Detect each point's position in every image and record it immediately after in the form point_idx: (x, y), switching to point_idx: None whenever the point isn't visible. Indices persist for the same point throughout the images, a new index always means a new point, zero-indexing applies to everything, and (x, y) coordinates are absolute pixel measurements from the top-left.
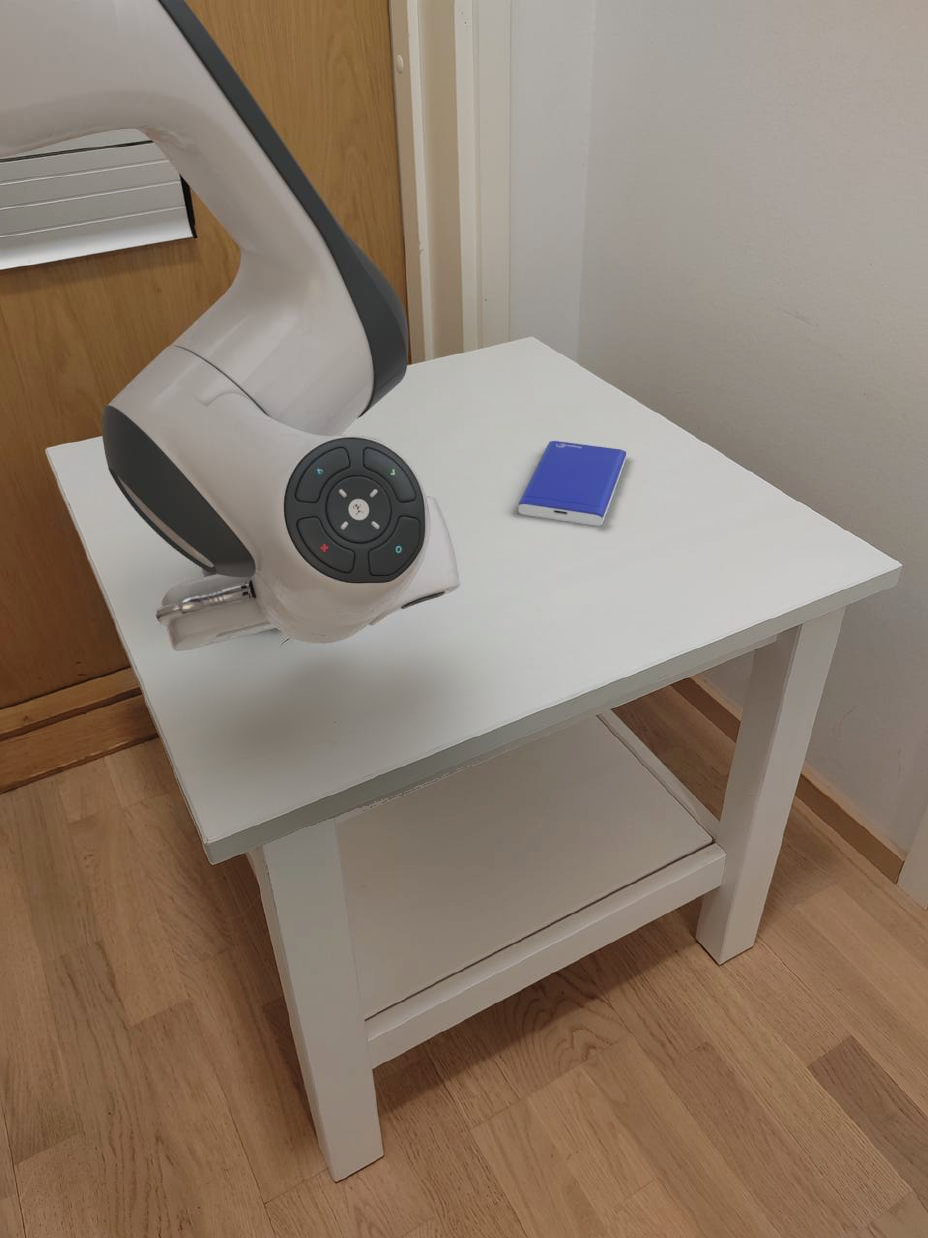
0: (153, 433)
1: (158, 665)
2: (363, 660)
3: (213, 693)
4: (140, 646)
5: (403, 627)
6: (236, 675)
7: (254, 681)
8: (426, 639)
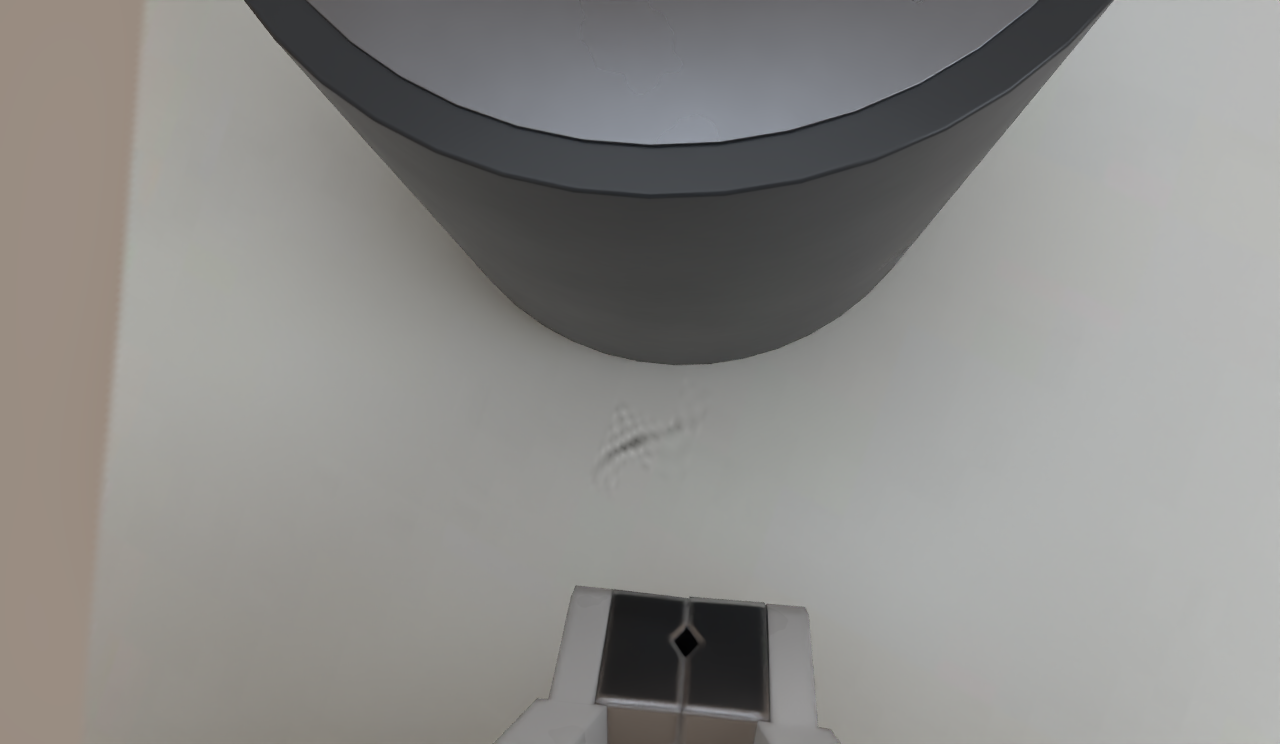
0: None
1: (164, 360)
2: (877, 722)
3: (283, 614)
4: (143, 226)
5: (1112, 599)
6: (390, 555)
7: (439, 624)
8: (1183, 728)
